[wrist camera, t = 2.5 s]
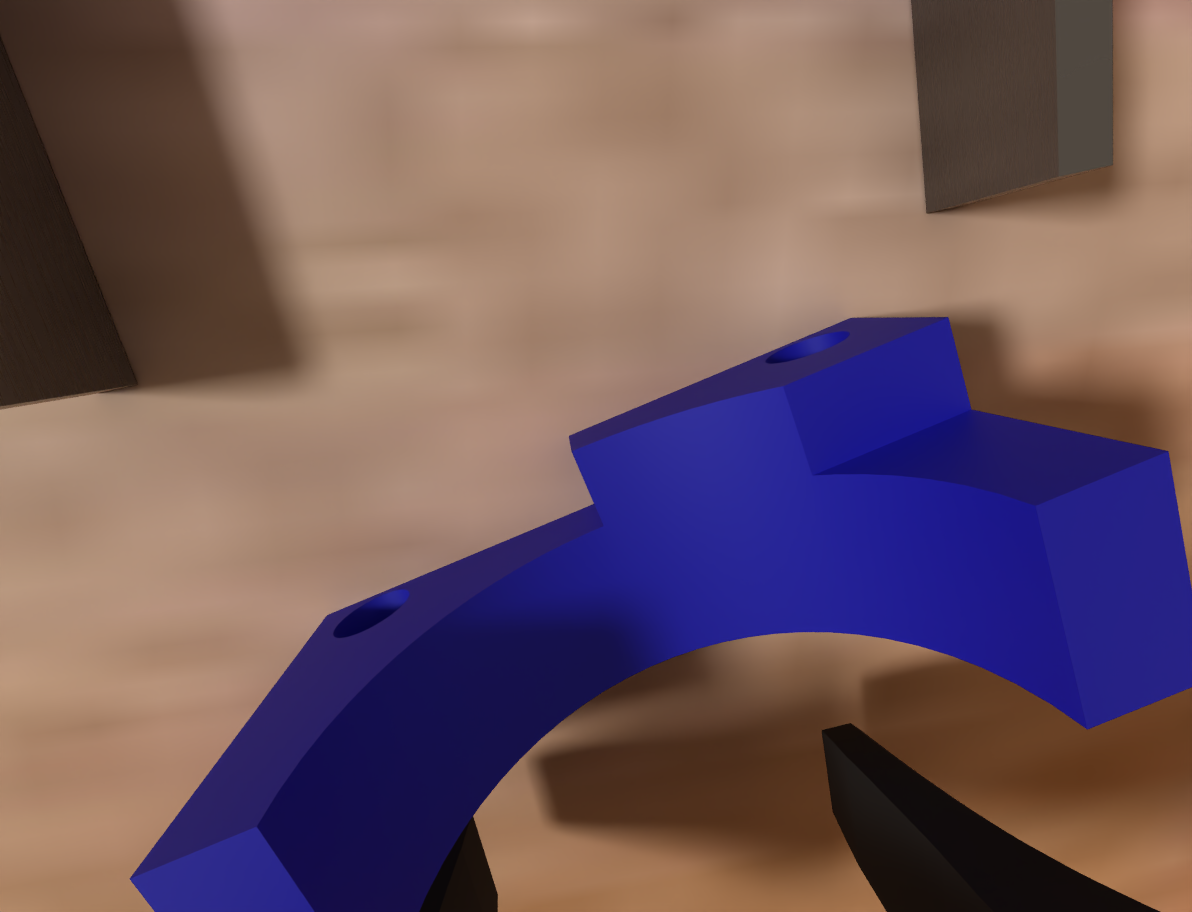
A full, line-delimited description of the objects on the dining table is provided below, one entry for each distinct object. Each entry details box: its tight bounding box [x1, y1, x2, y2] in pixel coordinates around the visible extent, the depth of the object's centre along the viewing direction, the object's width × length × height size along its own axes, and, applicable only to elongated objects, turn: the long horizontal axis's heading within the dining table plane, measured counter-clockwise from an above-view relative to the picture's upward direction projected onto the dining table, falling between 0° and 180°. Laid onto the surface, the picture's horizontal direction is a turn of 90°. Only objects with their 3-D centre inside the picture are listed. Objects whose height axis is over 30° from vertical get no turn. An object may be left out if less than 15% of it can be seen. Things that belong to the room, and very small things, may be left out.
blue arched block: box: [130, 317, 1192, 912], centre depth 9 cm, size 12×4×6 cm, turn 112°
